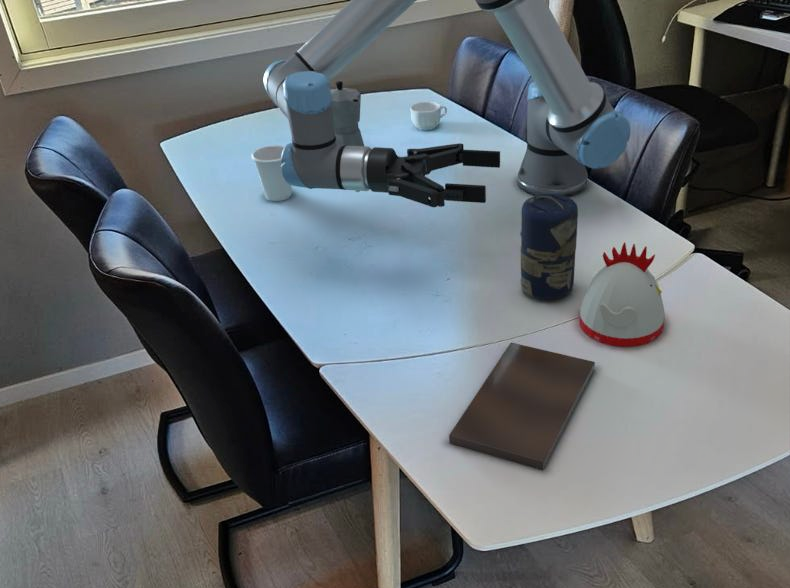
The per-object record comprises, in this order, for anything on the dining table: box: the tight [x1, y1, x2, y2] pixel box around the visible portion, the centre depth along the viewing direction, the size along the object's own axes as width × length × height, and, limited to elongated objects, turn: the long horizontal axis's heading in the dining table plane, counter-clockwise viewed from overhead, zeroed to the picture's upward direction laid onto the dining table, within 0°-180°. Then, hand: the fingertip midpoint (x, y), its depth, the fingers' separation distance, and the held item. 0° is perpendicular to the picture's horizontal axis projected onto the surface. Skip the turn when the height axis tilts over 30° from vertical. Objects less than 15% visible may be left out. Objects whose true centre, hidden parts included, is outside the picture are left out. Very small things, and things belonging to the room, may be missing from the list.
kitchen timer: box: [578, 241, 665, 348], centre depth 136 cm, size 14×14×15 cm
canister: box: [519, 194, 579, 300], centre depth 145 cm, size 10×10×18 cm
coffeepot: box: [329, 80, 365, 146], centre depth 197 cm, size 15×9×18 cm, turn 44°
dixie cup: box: [251, 144, 292, 202], centre depth 182 cm, size 8×8×10 cm
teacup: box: [409, 100, 448, 131], centre depth 213 cm, size 10×8×5 cm
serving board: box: [448, 342, 596, 471], centre depth 124 cm, size 24×14×2 cm, turn 155°
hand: (493, 176), depth 139 cm, fingers open, 13 cm apart
